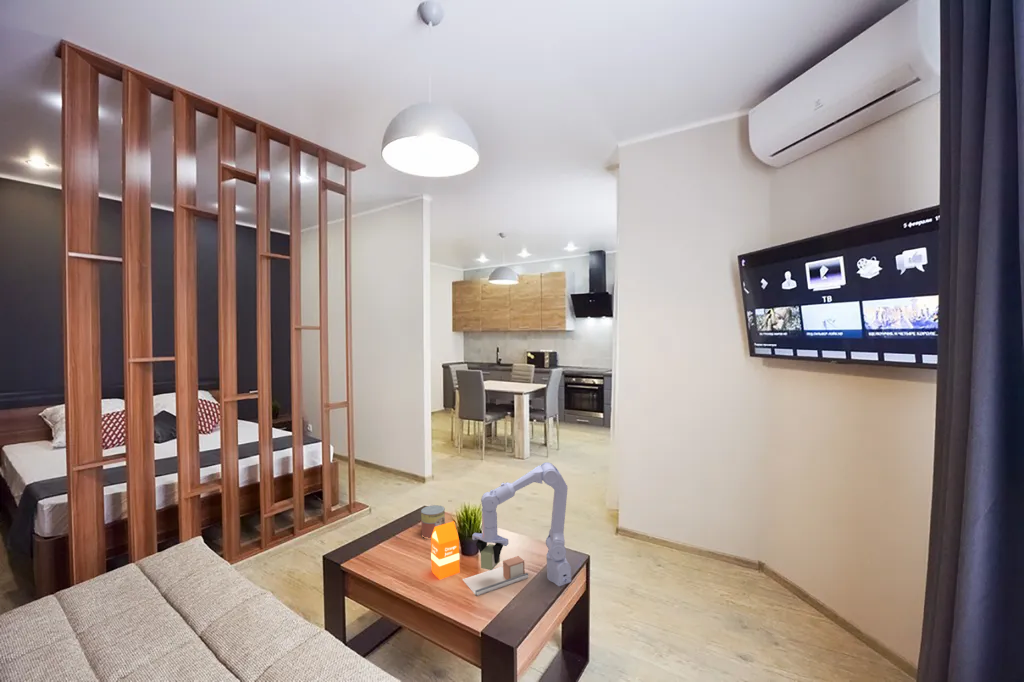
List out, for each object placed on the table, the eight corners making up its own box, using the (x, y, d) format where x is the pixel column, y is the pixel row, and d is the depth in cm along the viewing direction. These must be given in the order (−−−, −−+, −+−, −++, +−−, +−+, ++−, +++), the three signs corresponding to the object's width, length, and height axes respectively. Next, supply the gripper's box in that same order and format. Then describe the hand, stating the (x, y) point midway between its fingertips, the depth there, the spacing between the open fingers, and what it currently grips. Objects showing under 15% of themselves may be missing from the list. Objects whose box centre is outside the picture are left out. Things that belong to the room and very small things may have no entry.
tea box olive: (500, 561, 164) (499, 545, 165) (492, 570, 158) (491, 554, 158) (489, 559, 166) (489, 543, 166) (481, 567, 160) (480, 551, 160)
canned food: (433, 541, 199) (433, 516, 199) (416, 536, 205) (416, 511, 205) (450, 532, 208) (449, 507, 208) (433, 527, 214) (432, 503, 214)
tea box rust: (524, 576, 166) (524, 560, 166) (509, 581, 162) (508, 566, 162) (518, 571, 170) (518, 555, 170) (503, 576, 166) (503, 560, 166)
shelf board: (528, 580, 164) (528, 574, 164) (476, 598, 153) (476, 591, 153) (511, 565, 176) (511, 559, 176) (462, 581, 165) (462, 575, 165)
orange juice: (431, 573, 171) (430, 523, 171) (451, 566, 176) (449, 518, 176) (439, 582, 165) (438, 530, 165) (460, 574, 170) (458, 524, 170)
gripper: (511, 524, 163) (512, 559, 163) (478, 518, 169) (479, 552, 169) (503, 531, 156) (504, 568, 156) (469, 525, 163) (470, 561, 162)
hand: (490, 561), depth 162 cm, fingers closed on tea box olive, 5 cm apart
